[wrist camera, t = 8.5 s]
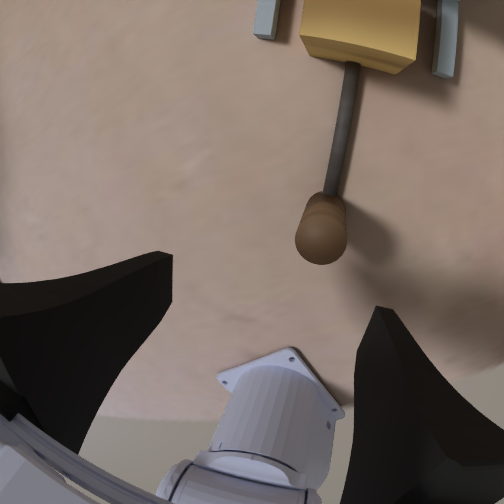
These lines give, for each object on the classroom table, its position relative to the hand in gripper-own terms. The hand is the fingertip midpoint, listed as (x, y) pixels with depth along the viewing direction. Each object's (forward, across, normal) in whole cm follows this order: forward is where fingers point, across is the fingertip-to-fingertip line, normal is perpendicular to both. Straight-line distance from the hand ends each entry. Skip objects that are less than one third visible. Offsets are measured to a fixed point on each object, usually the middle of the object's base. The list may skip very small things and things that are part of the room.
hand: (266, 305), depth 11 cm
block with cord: (+10, -1, -7) cm, 12 cm away
